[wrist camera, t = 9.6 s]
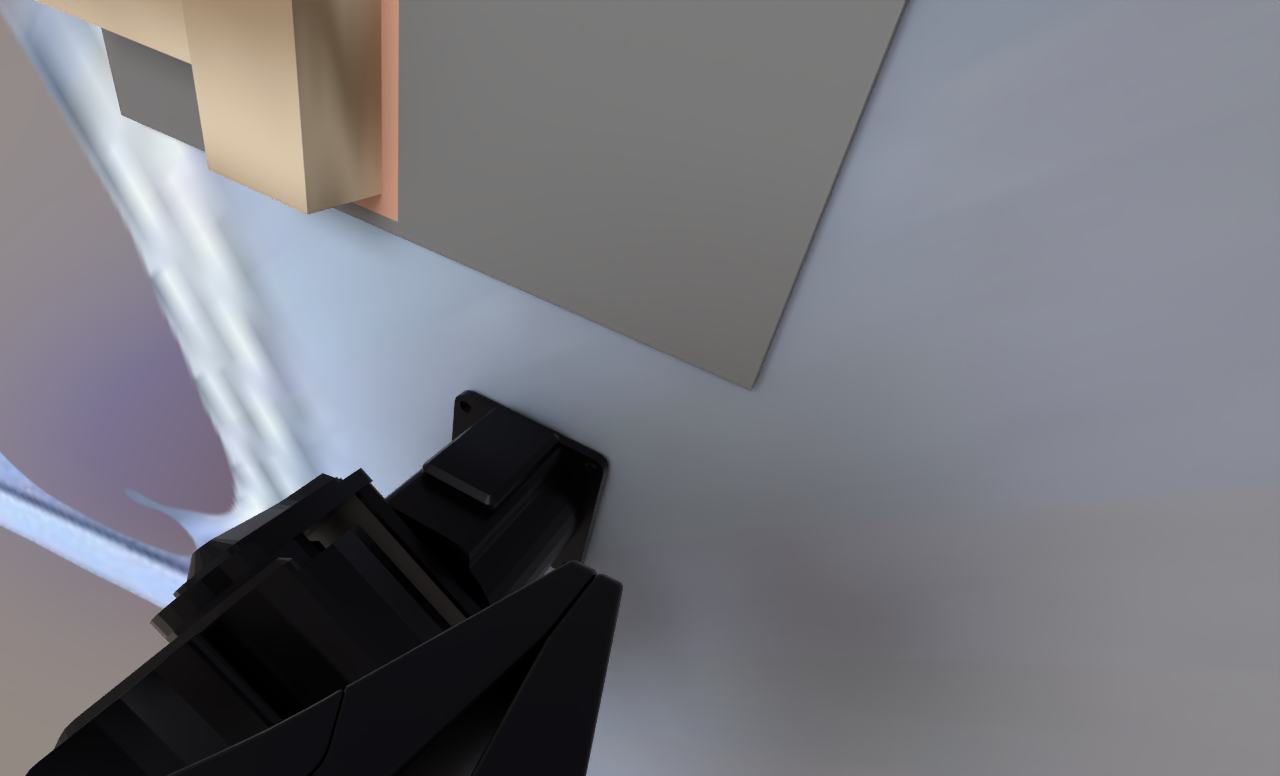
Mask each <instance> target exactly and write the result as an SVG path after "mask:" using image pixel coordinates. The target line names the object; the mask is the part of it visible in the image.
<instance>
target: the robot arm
mask: <svg viewBox="0 0 1280 776" xmlns="http://www.w3.org/2000/svg"><path fill="white" fill-rule="evenodd" d="M467 402H468V403H469V404H468V403H467ZM591 464H593V465H594V466H595V467H596V468H597V469H595V468H594V467H592V465H591ZM607 472H608V463H607V460H606V459H605V458H604V457H603V456H602V455H601V454H599V453H597V452H595V451H593V450H591V449H589V448H587V447H585V446H583V445H581V444H579V443H577V442H575V441H573V440H571V439H569V438H567V437H565V436H563V435H561V434H559V433H557V432H555V431H553V430H551V429H548V428H546V427H544V426H542V425H540V424H538V423H536V422H534V421H532V420H530V419H528V418H526V417H524V416H522V415H520V414H518V413H516V412H514V411H512V410H510V409H508V408H506V407H504V406H502V405H500V404H498V403H496V402H494V401H491V400H489V399H487V398H485V397H483V396H481V395H479V394H477V393H475V392H473V391H470V390H466V391H464V392H463V393H461V394H460V395H458V396H457V397H456V399H455V405H454V420H453V434H452V442H450V443H449V444H448V445H447V446H445V447H444V448H443V449H442V450H440V451H439V452H438V453H437V454H435V455H434V456H433V457H432V458H430V459H429V460H428V461H427V462H425V463H424V465H423V468H422V469H421V470H419V471H418V472H417V473H416V474H415V475H413V476H412V477H411V478H410V479H408V480H407V481H406V482H405V483H403V484H402V485H401V486H400V487H398V488H397V489H396V490H395V491H393V492H392V493H391V494H390V495H388V496H387V497H386V498H385V499H384V497H383V496H382V495H381V494H380V493H379V492H378V491H377V490H376V488H375V487H374V486H373V485H372V484H371V482H372V481H373V480H372V479H371V478H370V477H369V476H368V475H367V474H366V473H365V472H364V470H363V469H362V468H360V469H358V470H357V471H356V472H354V473H353V474H351V475H350V476H348V477H347V478H345V479H344V480H342V478H340V479H338V478H337V477H336V478H334V477H331V476H329V475H326V474H323V473H322V474H321V475H319V476H318V477H316V478H315V479H314V480H312V481H311V482H309V483H308V484H306V485H305V486H303V487H302V488H300V489H299V490H298V491H296V492H295V493H293V494H292V495H290V496H289V497H287V498H286V499H284V500H282V501H281V502H279V503H278V504H276V505H274V506H273V507H271V508H269V509H267V510H265V511H264V512H262V513H260V514H258V515H256V516H254V517H252V518H251V519H249V520H247V521H245V522H243V523H241V524H240V525H238V526H236V527H234V528H232V529H230V530H228V531H227V532H225V533H223V534H221V535H219V536H217V537H215V538H214V539H212V540H210V541H209V542H207V543H206V544H204V545H203V546H202V547H200V548H199V549H198V550H196V551H195V552H194V553H193V554H192V558H191V563H190V568H189V573H188V577H187V582H186V583H185V584H183V585H182V586H181V587H180V588H179V589H178V590H177V591H176V592H175V593H174V594H173V595H174V596H175V597H176V599H175V600H174V601H172V602H171V603H170V604H169V605H168V606H166V607H165V608H164V609H163V610H162V611H161V612H160V613H158V614H157V615H156V616H155V617H154V618H153V619H152V620H151V622H150V623H151V624H152V625H153V627H155V629H157V631H158V632H159V633H160V634H161V635H162V636H163V637H164V638H165V639H166V640H167V641H168V642H169V644H168V645H167V646H166V647H165V648H163V649H162V650H161V651H160V652H158V653H157V654H156V655H155V656H153V657H152V658H151V659H150V660H148V661H147V662H146V663H144V664H143V665H142V666H141V667H140V668H138V669H137V670H136V671H135V672H133V673H132V674H131V675H130V676H128V677H127V678H126V679H125V680H123V681H122V682H121V683H120V684H118V685H117V686H116V687H115V688H113V689H112V690H111V691H110V692H108V693H107V694H106V695H105V696H103V697H102V698H101V699H100V700H98V701H97V702H96V703H95V704H93V705H92V706H91V707H90V708H88V709H87V710H86V711H85V712H84V713H82V714H81V715H80V716H78V717H77V718H76V719H75V720H73V722H71V723H70V725H68V727H66V728H65V730H64V731H63V733H62V734H61V736H60V738H59V740H58V742H57V744H56V746H55V749H54V750H53V751H52V752H50V753H49V754H48V755H47V756H45V757H44V758H43V759H42V760H40V761H39V762H38V763H37V764H36V765H35V766H33V767H32V768H31V769H30V770H29V772H28V773H27V774H26V776H586V773H587V768H588V763H589V758H590V753H591V748H592V743H593V738H594V733H595V728H596V723H597V717H598V712H599V707H600V702H601V697H602V692H603V687H604V682H605V677H606V672H607V667H608V662H609V657H610V652H611V647H612V642H613V636H614V631H615V626H616V621H617V616H618V611H619V606H620V601H621V596H622V591H623V585H622V583H621V582H619V581H617V580H615V579H613V578H611V577H609V576H607V575H605V574H601V573H600V574H598V575H597V572H596V571H595V570H594V569H592V568H590V567H588V566H586V565H584V560H585V556H586V552H587V548H588V544H589V541H590V537H591V533H592V529H593V525H594V522H595V518H596V514H597V510H598V506H599V502H600V499H601V495H602V491H603V487H604V483H605V480H606V476H607ZM550 566H551V567H553V568H555V570H553V571H551V572H549V573H548V574H546V575H544V574H545V572H546V571H547V570H548V569H549V567H550ZM543 575H544V576H543Z"/></svg>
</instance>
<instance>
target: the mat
mask: <svg viewBox="0 0 1280 776" xmlns="http://www.w3.org/2000/svg"><path fill="white" fill-rule="evenodd" d="M907 2H908V0H381V68H382V194H379V195H375V196H372V197H368V198H364V199H361V200H357V201H354V202H350V203H347V204H343V205H339V206H336V207H333V208H335V209H338V210H340V211H342V212H345V213H347V214H349V215H351V216H354V217H356V218H358V219H361V220H363V221H365V222H367V223H370V224H372V225H374V226H377V227H379V228H381V229H383V230H386V231H388V232H390V233H393V234H395V235H397V236H400V237H402V238H404V239H406V240H409V241H411V242H413V243H416V244H418V245H420V246H422V247H425V248H427V249H429V250H432V251H434V252H436V253H438V254H441V255H443V256H445V257H448V258H450V259H452V260H454V261H457V262H459V263H461V264H464V265H466V266H468V267H470V268H473V269H475V270H477V271H480V272H482V273H484V274H486V275H489V276H491V277H493V278H496V279H498V280H500V281H502V282H505V283H507V284H509V285H512V286H514V287H516V288H518V289H521V290H523V291H525V292H528V293H530V294H532V295H534V296H537V297H539V298H541V299H544V300H546V301H548V302H550V303H553V304H555V305H557V306H560V307H562V308H564V309H566V310H569V311H571V312H573V313H576V314H578V315H580V316H582V317H585V318H587V319H589V320H592V321H594V322H596V323H598V324H601V325H603V326H605V327H608V328H610V329H612V330H614V331H617V332H619V333H621V334H624V335H626V336H628V337H630V338H633V339H635V340H637V341H640V342H642V343H644V344H646V345H649V346H651V347H653V348H656V349H658V350H660V351H662V352H665V353H667V354H669V355H672V356H674V357H676V358H678V359H681V360H683V361H685V362H688V363H690V364H692V365H694V366H697V367H699V368H701V369H704V370H706V371H708V372H710V373H713V374H715V375H717V376H720V377H722V378H724V379H726V380H729V381H731V382H733V383H736V384H738V385H740V386H742V387H745V388H747V389H749V390H751V389H752V387H753V385H754V384H755V382H756V380H757V378H758V375H759V373H760V370H761V368H762V365H763V363H764V360H765V358H766V355H767V353H768V350H769V347H770V345H771V342H772V340H773V337H774V335H775V332H776V330H777V327H778V325H779V322H780V320H781V317H782V315H783V312H784V310H785V307H786V305H787V302H788V300H789V297H790V295H791V292H792V290H793V287H794V285H795V282H796V280H797V277H798V275H799V272H800V270H801V267H802V265H803V262H804V260H805V257H806V255H807V252H808V250H809V247H810V245H811V242H812V240H813V237H814V235H815V232H816V230H817V227H818V225H819V222H820V220H821V217H822V215H823V212H824V210H825V207H826V205H827V202H828V200H829V197H830V195H831V192H832V190H833V187H834V185H835V182H836V180H837V177H838V175H839V172H840V170H841V167H842V165H843V162H844V160H845V157H846V155H847V152H848V150H849V147H850V145H851V142H852V140H853V137H854V135H855V132H856V130H857V127H858V125H859V122H860V120H861V117H862V115H863V112H864V110H865V107H866V105H867V102H868V100H869V97H870V94H871V92H872V89H873V87H874V84H875V82H876V79H877V77H878V74H879V72H880V69H881V67H882V64H883V62H884V59H885V57H886V54H887V52H888V49H889V47H890V44H891V42H892V39H893V37H894V34H895V32H896V29H897V27H898V24H899V22H900V19H901V17H902V14H903V12H904V9H905V7H906V4H907ZM101 29H102V33H103V37H104V42H105V46H106V50H107V55H108V59H109V63H110V68H111V72H112V76H113V81H114V85H115V89H116V94H117V98H118V102H119V106H120V111H121V115H123V116H125V117H127V118H130V119H132V120H134V121H137V122H139V123H141V124H143V125H146V126H148V127H150V128H153V129H155V130H157V131H159V132H162V133H164V134H166V135H169V136H171V137H173V138H175V139H178V140H180V141H182V142H185V143H187V144H189V145H191V146H194V147H196V148H198V149H201V150H203V151H205V145H204V139H203V133H202V127H201V120H200V114H199V108H198V102H197V96H196V89H195V83H194V77H193V71H192V64H190V63H187V62H185V61H182V60H180V59H177V58H175V57H172V56H170V55H167V54H165V53H163V52H160V51H158V50H155V49H153V48H150V47H148V46H145V45H143V44H140V43H138V42H136V41H133V40H131V39H128V38H126V37H123V36H121V35H118V34H116V33H113V32H111V31H109V30H106V29H104V28H101Z"/></svg>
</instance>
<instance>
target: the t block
mask: <svg viewBox="0 0 1280 776" xmlns="http://www.w3.org/2000/svg"><path fill="white" fill-rule="evenodd" d="M35 1H37V2H40V3H42V4H45V5H47V6H50V7H52V8H55V9H57V10H59V11H62V12H64V13H67V14H69V15H72V16H74V17H77V18H79V19H82V20H84V21H86V22H89V23H91V24H94V25H96V26H99V27H101V28H104V29H106V30H109V31H111V32H113V33H116V34H118V35H121V36H123V37H126V38H128V39H131V40H133V41H136V42H138V43H140V44H143V45H145V46H148V47H150V48H153V49H155V50H158V51H160V52H163V53H165V54H167V55H170V56H172V57H175V58H177V59H180V60H182V61H185V62H187V63H190V64H192V71H193V77H194V83H195V89H196V96H197V102H198V108H199V114H200V120H201V127H202V133H203V139H204V145H205V152H206V158H207V164H208V169H209V170H211V171H213V172H215V173H217V174H220V175H222V176H224V177H226V178H228V179H231V180H233V181H235V182H237V183H239V184H242V185H244V186H246V187H248V188H250V189H253V190H255V191H257V192H259V193H261V194H264V195H266V196H268V197H270V198H272V199H275V200H277V201H279V202H281V203H283V204H286V205H288V206H290V207H292V208H294V209H297V210H299V211H301V212H303V213H305V214H311V213H315V212H318V211H322V210H325V209H329V208H332V207H336V206H339V205H343V204H347V203H350V202H354V201H357V200H361V199H364V198H368V197H372V196H375V195H379V194H382V68H381V0H35Z"/></svg>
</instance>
